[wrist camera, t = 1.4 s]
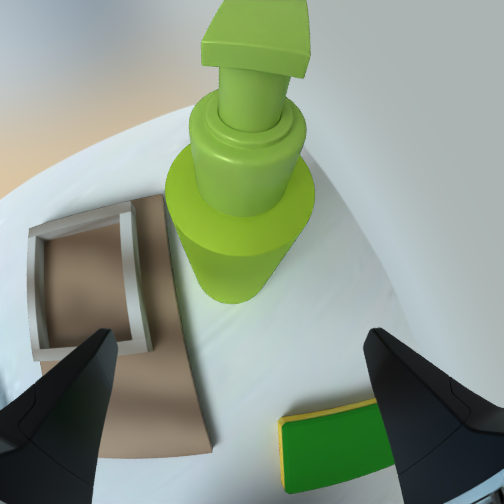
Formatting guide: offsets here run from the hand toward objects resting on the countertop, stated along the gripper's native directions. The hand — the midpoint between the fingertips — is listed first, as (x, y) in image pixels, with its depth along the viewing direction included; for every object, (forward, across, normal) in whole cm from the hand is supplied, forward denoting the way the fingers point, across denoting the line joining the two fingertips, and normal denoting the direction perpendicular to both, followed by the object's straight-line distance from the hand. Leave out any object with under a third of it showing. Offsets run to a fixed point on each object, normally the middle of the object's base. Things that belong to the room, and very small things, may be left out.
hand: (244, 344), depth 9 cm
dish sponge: (+3, -11, +16) cm, 20 cm away
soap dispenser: (+14, 0, +5) cm, 15 cm away
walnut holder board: (+9, +11, +9) cm, 17 cm away
